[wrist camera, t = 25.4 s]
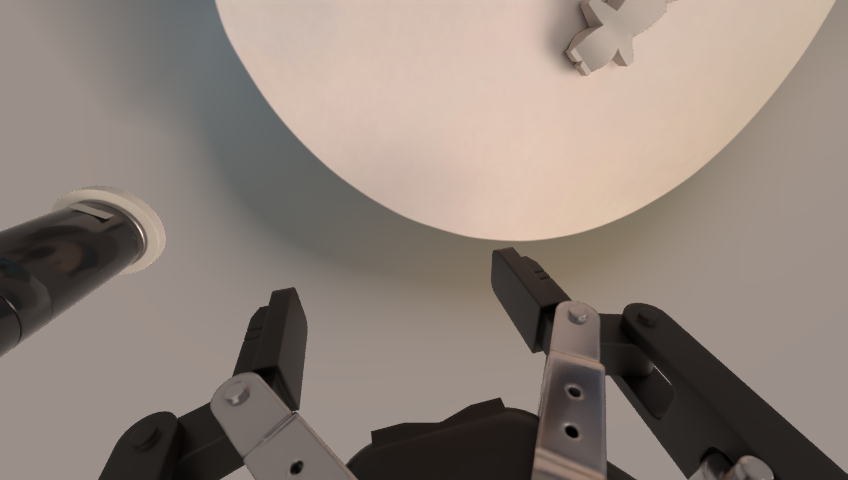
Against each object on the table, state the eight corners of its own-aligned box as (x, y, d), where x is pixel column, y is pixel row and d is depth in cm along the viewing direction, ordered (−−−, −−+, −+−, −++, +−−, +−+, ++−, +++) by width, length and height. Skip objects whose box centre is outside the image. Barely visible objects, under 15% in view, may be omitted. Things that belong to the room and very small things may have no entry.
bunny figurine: (563, 32, 37) (686, -96, 33) (546, 34, 42) (652, -77, 37) (605, 93, 41) (722, -13, 36) (585, 90, 45) (687, -6, 41)
